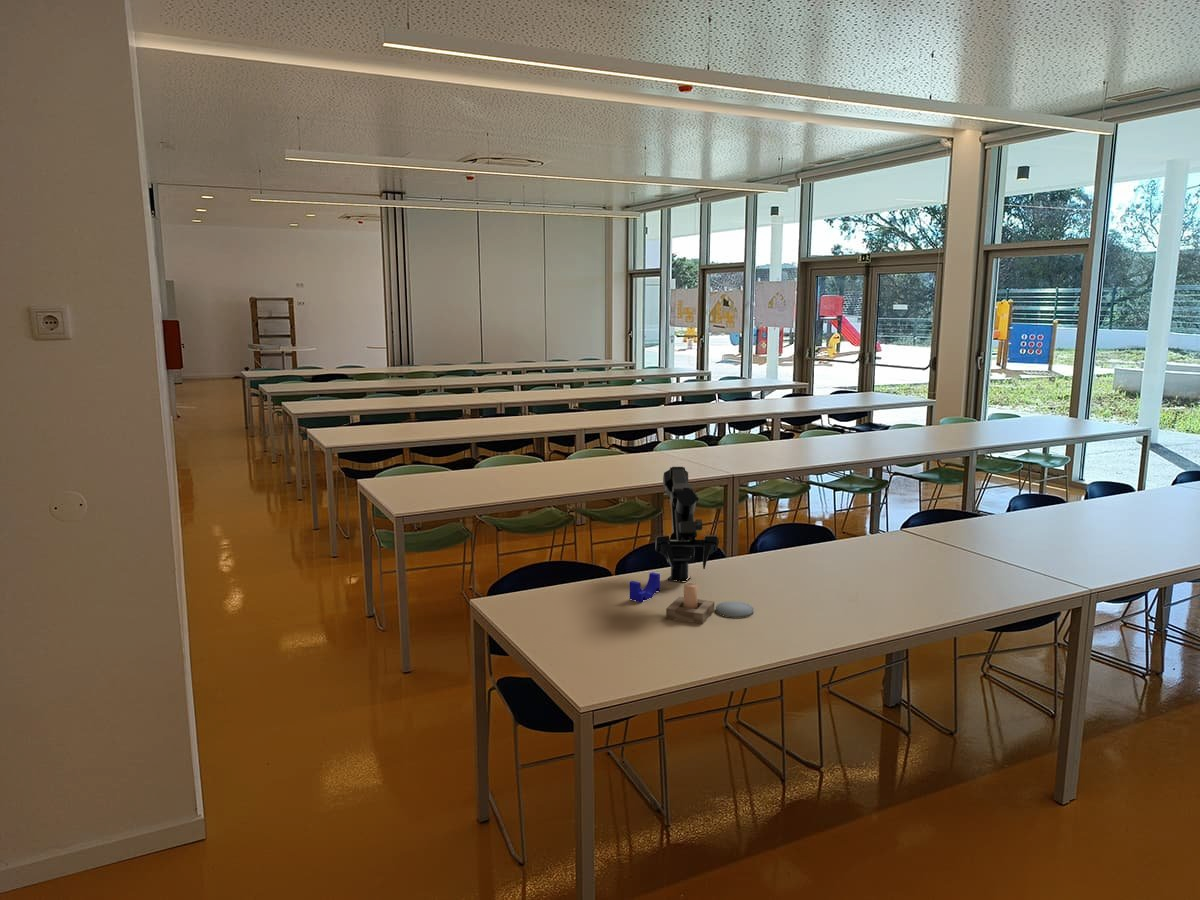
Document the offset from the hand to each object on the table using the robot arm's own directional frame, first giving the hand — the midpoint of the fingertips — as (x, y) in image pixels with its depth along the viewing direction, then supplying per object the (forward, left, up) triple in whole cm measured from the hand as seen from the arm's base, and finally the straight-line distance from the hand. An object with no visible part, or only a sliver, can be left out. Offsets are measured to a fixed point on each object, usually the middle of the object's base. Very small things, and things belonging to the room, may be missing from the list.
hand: (688, 568), depth 242 cm
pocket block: (+5, +2, -12) cm, 14 cm away
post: (+5, +2, -12) cm, 14 cm away
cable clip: (-5, -15, -13) cm, 20 cm away
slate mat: (-3, +13, -12) cm, 18 cm away
